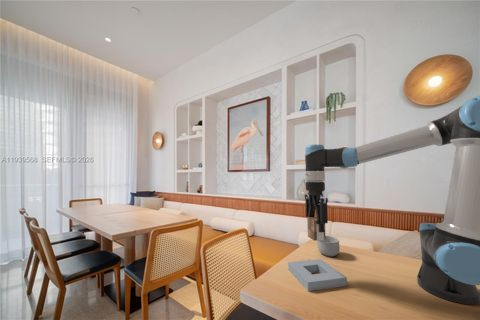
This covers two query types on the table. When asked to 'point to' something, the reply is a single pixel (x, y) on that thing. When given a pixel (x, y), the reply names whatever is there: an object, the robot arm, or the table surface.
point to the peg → (313, 228)
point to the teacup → (329, 246)
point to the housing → (316, 281)
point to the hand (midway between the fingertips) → (316, 237)
